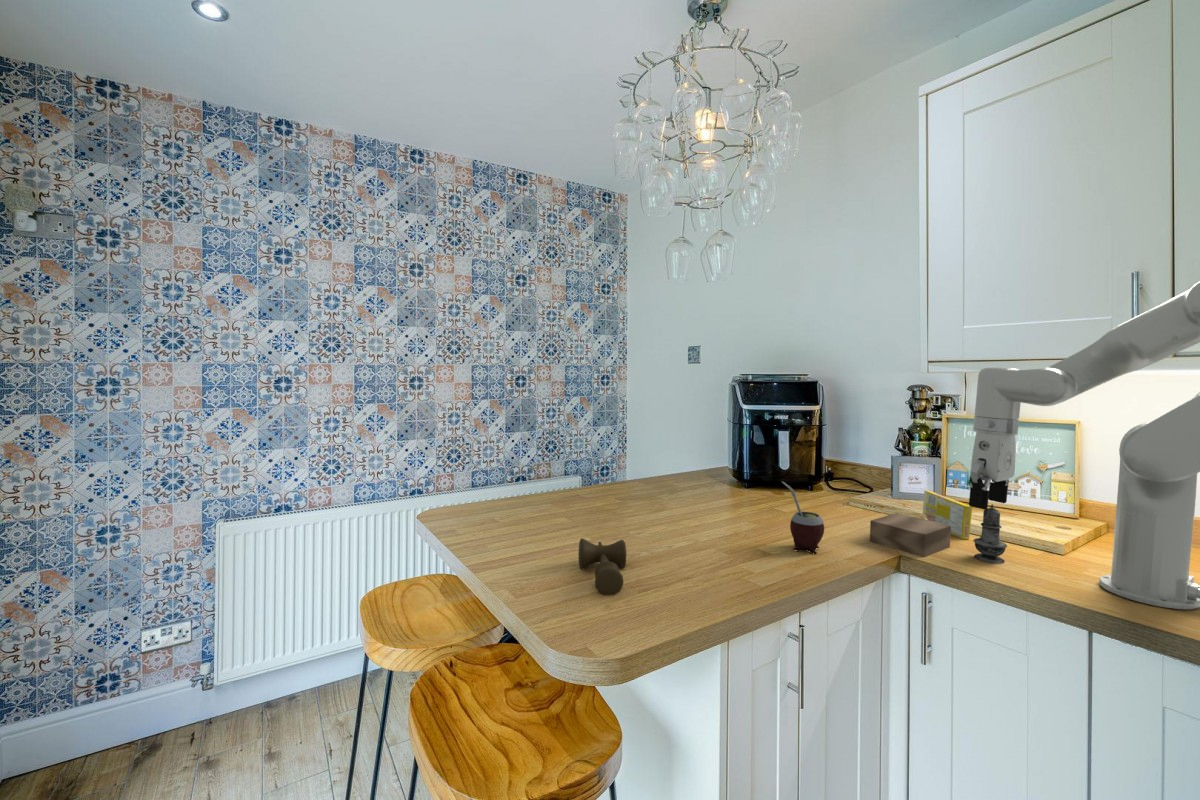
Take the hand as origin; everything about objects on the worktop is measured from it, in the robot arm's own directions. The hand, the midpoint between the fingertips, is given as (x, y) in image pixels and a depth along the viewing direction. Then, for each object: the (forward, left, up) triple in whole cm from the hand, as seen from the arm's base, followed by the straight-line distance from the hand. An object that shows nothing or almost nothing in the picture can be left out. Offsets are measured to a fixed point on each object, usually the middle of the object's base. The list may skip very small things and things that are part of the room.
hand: (987, 504), depth 110 cm
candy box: (+14, -15, -12) cm, 24 cm away
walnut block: (+13, +5, -12) cm, 18 cm away
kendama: (+37, +75, -12) cm, 84 cm away
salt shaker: (-1, 0, -12) cm, 12 cm away
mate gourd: (+24, +29, -12) cm, 40 cm away
